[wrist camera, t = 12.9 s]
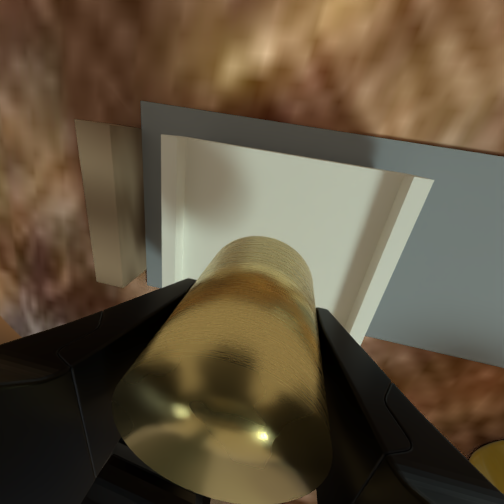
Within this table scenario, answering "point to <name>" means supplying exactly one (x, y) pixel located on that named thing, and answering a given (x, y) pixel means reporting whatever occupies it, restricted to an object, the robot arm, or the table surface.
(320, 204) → the shallow square tray
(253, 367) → the solid brass cylinder
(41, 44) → the table surface
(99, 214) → the end stop
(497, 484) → the plant pot
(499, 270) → the mat
